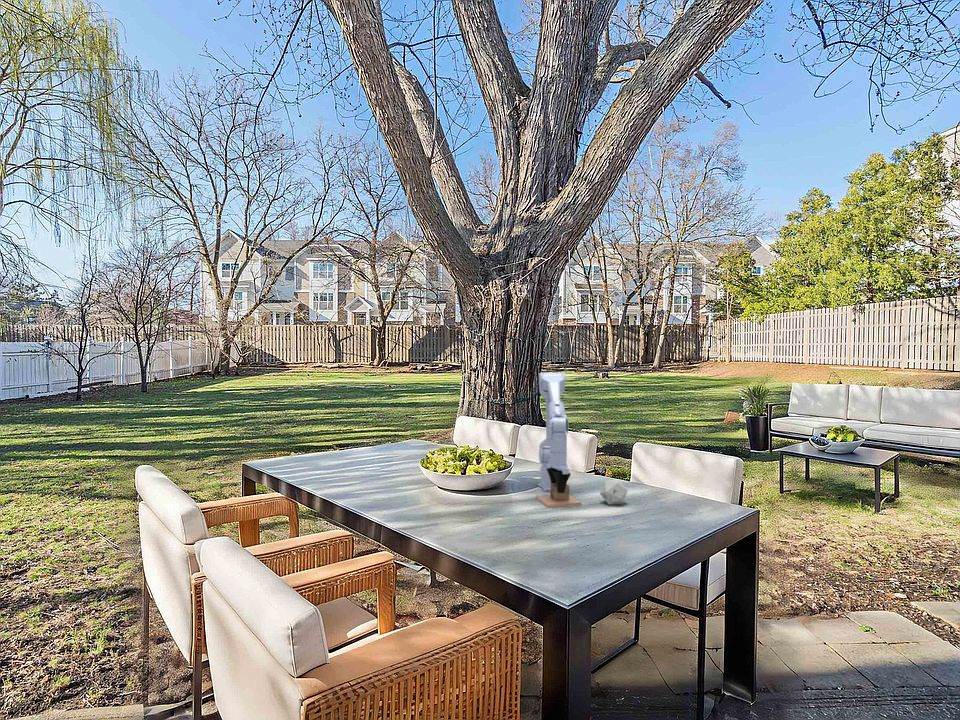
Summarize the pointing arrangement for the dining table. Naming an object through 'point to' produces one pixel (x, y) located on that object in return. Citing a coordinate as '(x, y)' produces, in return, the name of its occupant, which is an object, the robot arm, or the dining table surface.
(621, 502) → the die
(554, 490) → the cube
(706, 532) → the dining table surface
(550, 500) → the tile
